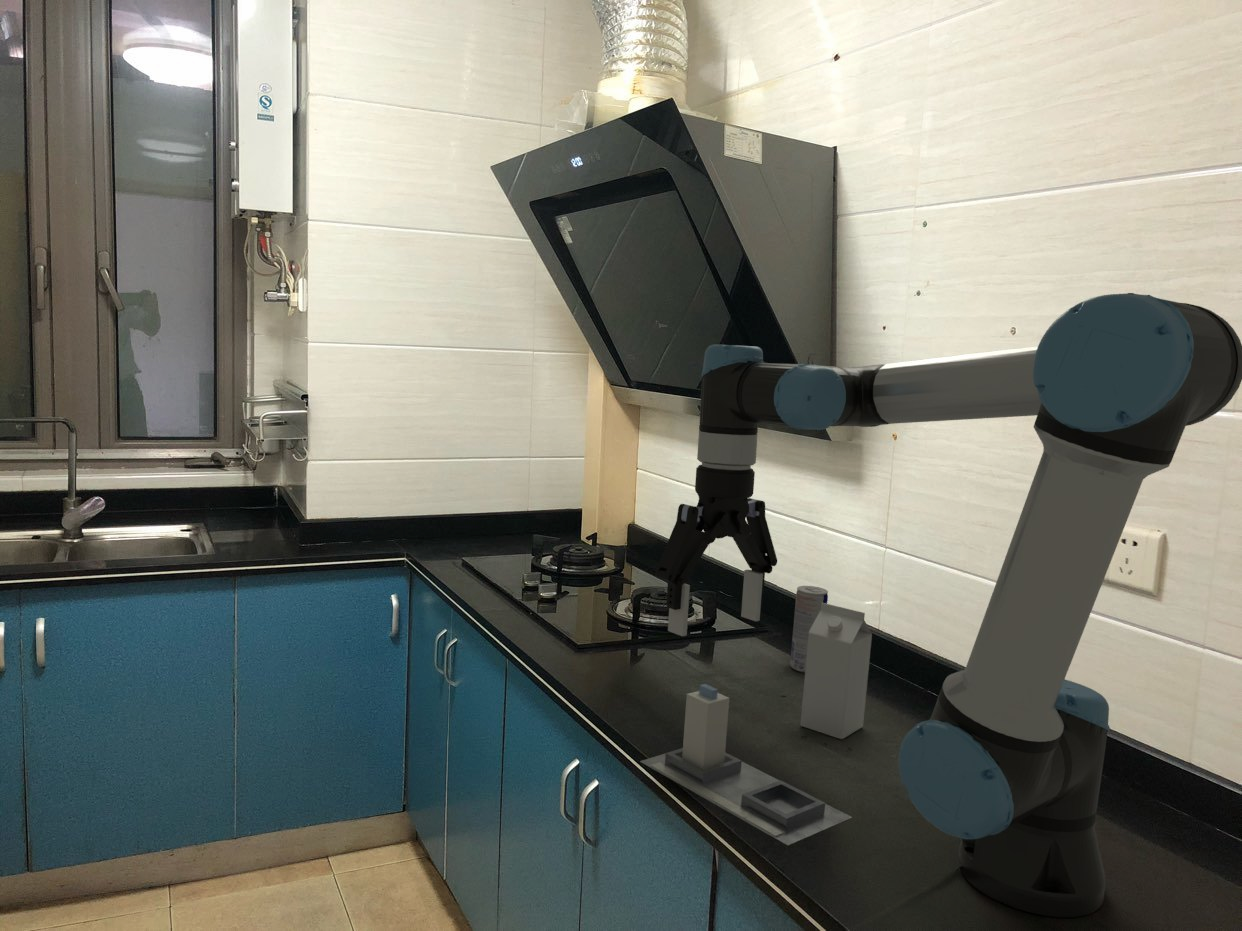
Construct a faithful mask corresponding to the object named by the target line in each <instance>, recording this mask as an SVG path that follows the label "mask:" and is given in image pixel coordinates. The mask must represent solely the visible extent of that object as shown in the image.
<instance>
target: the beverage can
mask: <svg viewBox="0 0 1242 931" xmlns="http://www.w3.org/2000/svg"><path fill="white" fill-rule="evenodd" d="M796 589H797V591H796V594H795V607H794V616H793V627H792V628H793V629H792V640H791V650H790V662H789V664H790V665H789V666H790V667H791V668H792V669H794V670H795V671H798V672H800V673H804V674H805V669H806V658H807V647H808V636H809V631H810V629H811V627H812V625H813V623H814V621H815V620H816V618H817V616H818V614H819V612H820V610H821V604H822V603H826V604H828V601H829V600H828V598H829V595H828V593H829V591H828V590H827V589H826V588H823V587H819V586H815V585H800V586H799V585H798V586H797V588H796Z"/></svg>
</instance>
